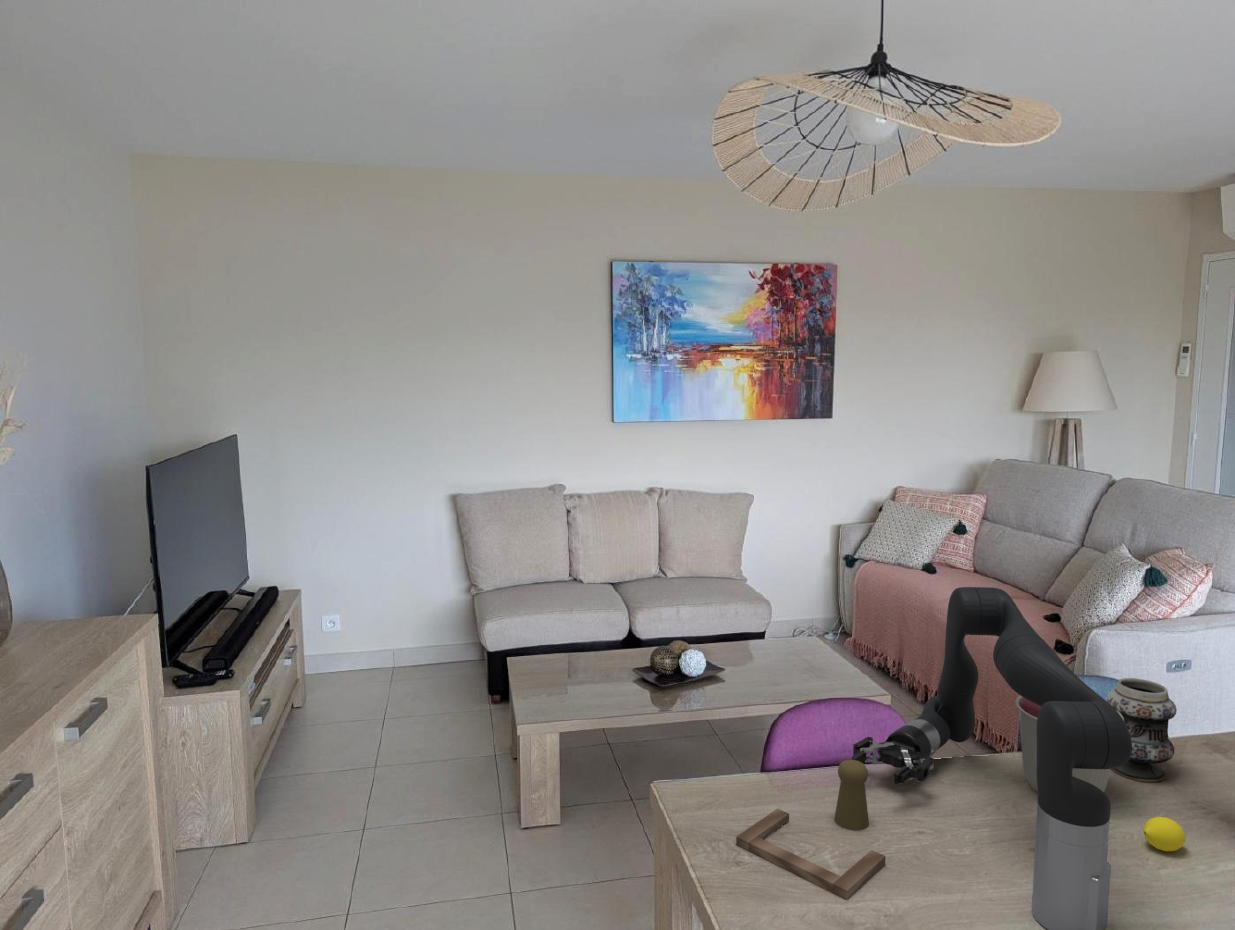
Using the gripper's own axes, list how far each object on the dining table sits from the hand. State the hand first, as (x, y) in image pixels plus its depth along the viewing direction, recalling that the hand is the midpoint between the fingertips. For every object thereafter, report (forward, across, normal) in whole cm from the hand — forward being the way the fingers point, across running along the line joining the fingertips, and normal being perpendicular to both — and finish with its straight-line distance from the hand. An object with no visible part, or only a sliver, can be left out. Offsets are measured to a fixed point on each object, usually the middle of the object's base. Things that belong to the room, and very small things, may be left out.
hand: (874, 771), depth 151 cm
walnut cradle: (+22, 0, +7) cm, 23 cm away
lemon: (-21, +42, +7) cm, 47 cm away
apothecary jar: (-49, +32, +7) cm, 59 cm away
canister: (-30, +24, +7) cm, 39 cm away
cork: (+8, 0, +7) cm, 11 cm away
